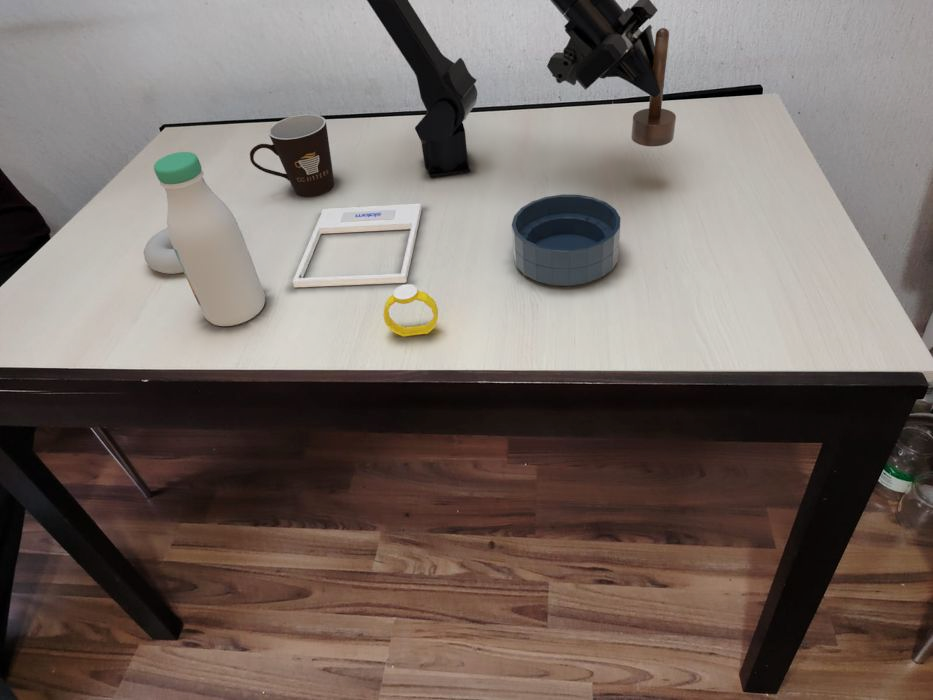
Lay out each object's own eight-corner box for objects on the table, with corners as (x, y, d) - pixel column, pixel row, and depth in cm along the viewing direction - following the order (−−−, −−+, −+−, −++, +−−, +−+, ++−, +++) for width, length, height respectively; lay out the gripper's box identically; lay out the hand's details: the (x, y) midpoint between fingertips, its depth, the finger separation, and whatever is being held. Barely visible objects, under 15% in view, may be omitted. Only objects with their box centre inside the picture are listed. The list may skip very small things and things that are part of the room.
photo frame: (420, 202, 97) (404, 275, 83) (421, 209, 97) (406, 282, 84) (322, 207, 98) (291, 280, 85) (324, 214, 99) (294, 287, 86)
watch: (441, 322, 78) (434, 281, 74) (440, 338, 76) (433, 296, 72) (390, 326, 78) (380, 285, 74) (388, 342, 76) (378, 300, 72)
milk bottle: (279, 296, 85) (226, 147, 71) (240, 333, 80) (176, 181, 66) (232, 285, 88) (173, 140, 74) (191, 320, 83) (121, 172, 69)
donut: (194, 283, 89) (235, 241, 96) (183, 262, 87) (227, 220, 93) (134, 274, 92) (179, 234, 99) (123, 254, 90) (169, 214, 96)
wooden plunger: (678, 131, 92) (692, 22, 83) (666, 149, 89) (679, 37, 80) (638, 126, 95) (647, 19, 85) (625, 143, 91) (633, 34, 82)
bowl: (601, 225, 90) (603, 188, 86) (631, 280, 80) (634, 241, 76) (506, 239, 89) (504, 202, 86) (524, 296, 80) (522, 258, 76)
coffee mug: (346, 172, 109) (331, 112, 102) (335, 198, 102) (318, 136, 96) (277, 177, 110) (258, 118, 103) (262, 203, 104) (241, 143, 97)
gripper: (561, 21, 96) (631, 103, 100) (512, 67, 84) (594, 159, 87) (618, -41, 88) (693, 51, 91) (573, 1, 76) (661, 105, 79)
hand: (659, 91), depth 88 cm, fingers closed on wooden plunger
